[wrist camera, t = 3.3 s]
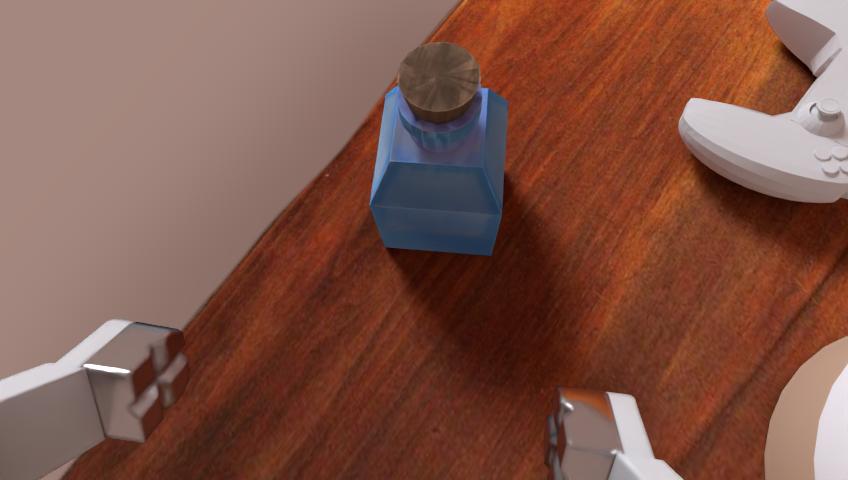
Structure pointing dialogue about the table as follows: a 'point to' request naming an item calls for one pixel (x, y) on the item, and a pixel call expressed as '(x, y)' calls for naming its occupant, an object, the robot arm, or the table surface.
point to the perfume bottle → (440, 156)
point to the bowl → (812, 420)
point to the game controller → (786, 115)
